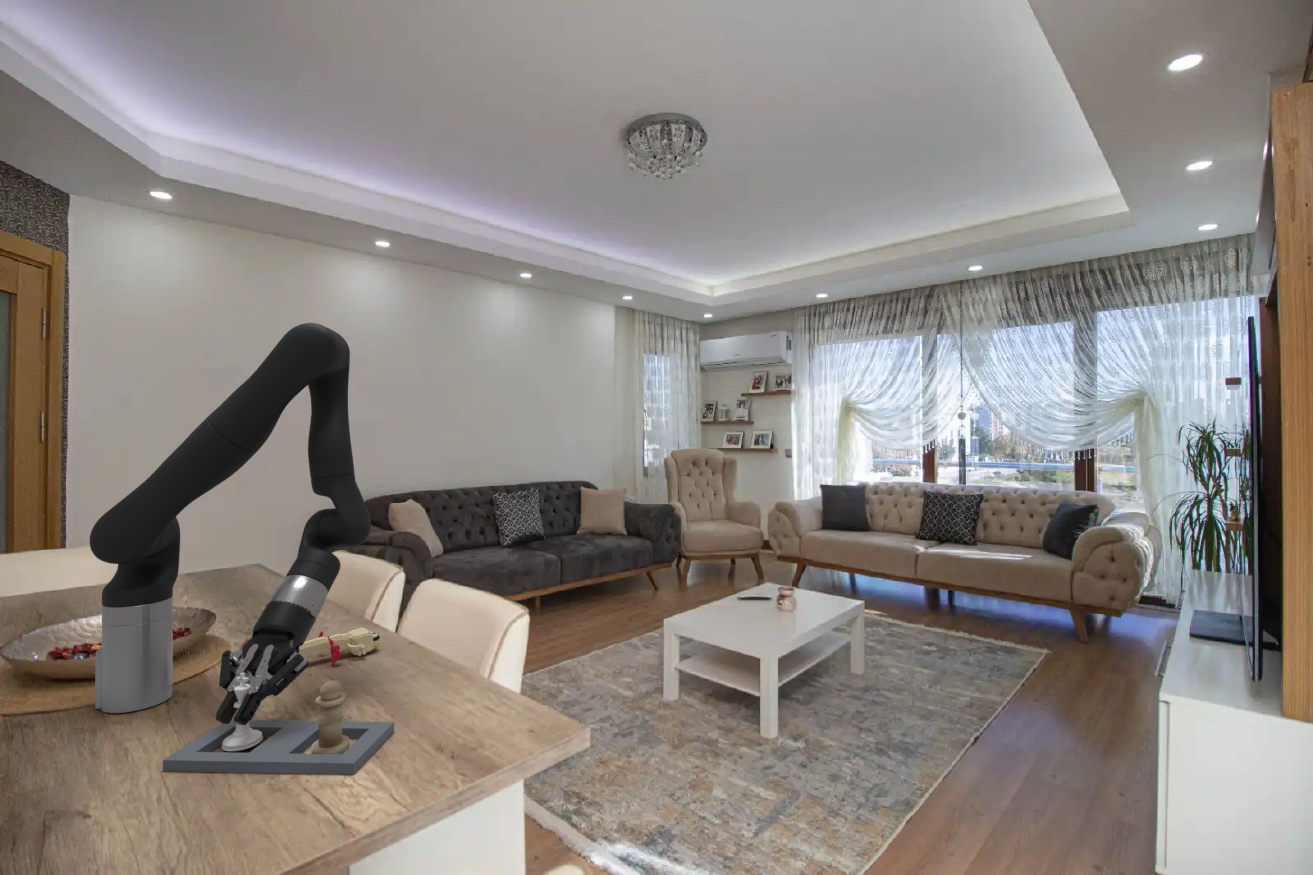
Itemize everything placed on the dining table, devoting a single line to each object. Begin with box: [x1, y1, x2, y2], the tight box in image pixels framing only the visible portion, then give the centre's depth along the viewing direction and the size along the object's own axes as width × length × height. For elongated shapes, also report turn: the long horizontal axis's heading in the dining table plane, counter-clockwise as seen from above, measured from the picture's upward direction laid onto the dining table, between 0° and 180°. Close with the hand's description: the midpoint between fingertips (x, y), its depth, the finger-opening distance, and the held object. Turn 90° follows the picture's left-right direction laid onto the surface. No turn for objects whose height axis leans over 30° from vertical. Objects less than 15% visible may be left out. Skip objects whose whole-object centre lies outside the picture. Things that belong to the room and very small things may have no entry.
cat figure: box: [239, 627, 383, 674], centre depth 123 cm, size 10×9×25 cm
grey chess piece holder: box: [162, 719, 395, 776], centre depth 89 cm, size 26×12×2 cm, turn 89°
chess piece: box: [221, 673, 264, 752], centre depth 89 cm, size 5×5×10 cm
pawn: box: [310, 680, 350, 754], centre depth 89 cm, size 5×5×10 cm
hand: (230, 722), depth 87 cm, fingers closed on chess piece
